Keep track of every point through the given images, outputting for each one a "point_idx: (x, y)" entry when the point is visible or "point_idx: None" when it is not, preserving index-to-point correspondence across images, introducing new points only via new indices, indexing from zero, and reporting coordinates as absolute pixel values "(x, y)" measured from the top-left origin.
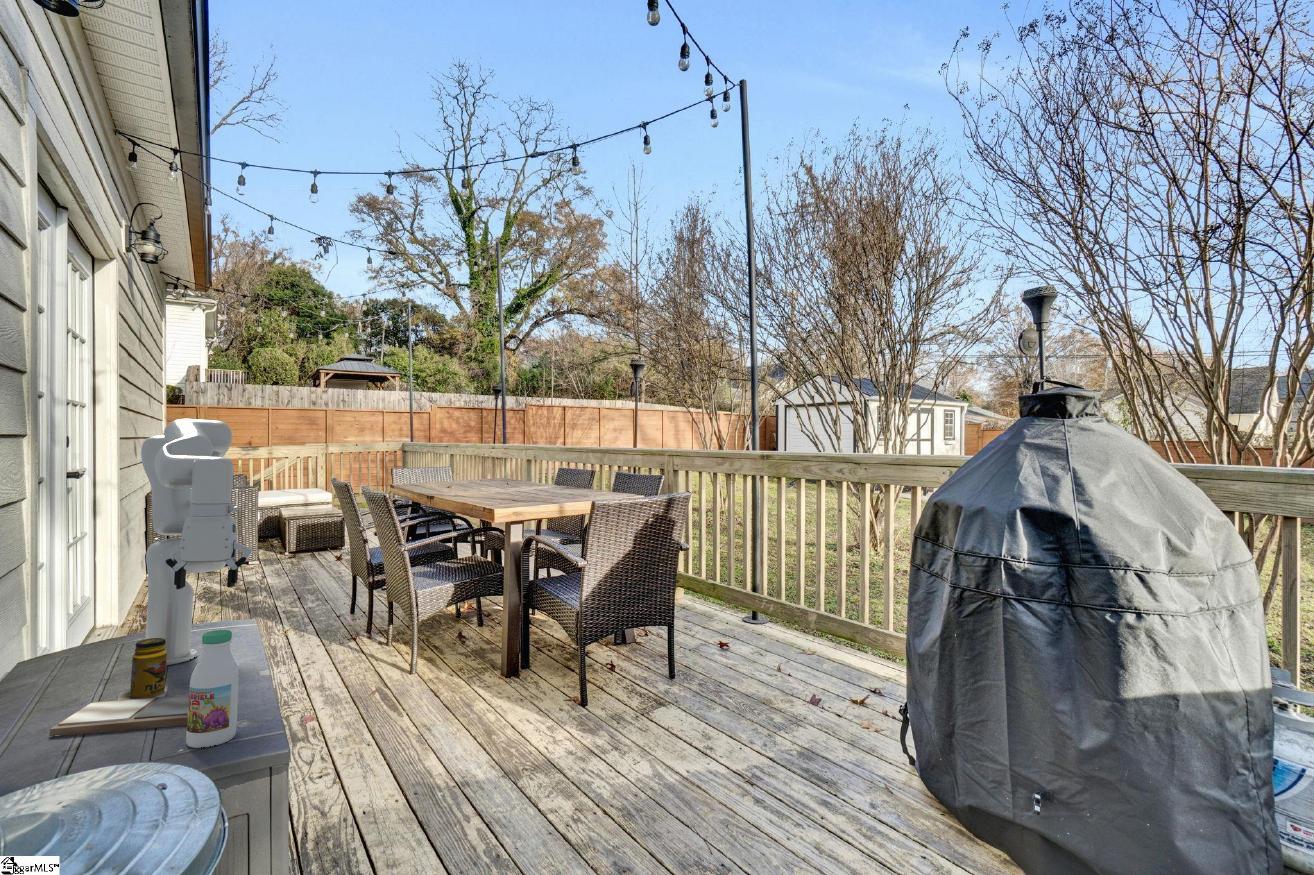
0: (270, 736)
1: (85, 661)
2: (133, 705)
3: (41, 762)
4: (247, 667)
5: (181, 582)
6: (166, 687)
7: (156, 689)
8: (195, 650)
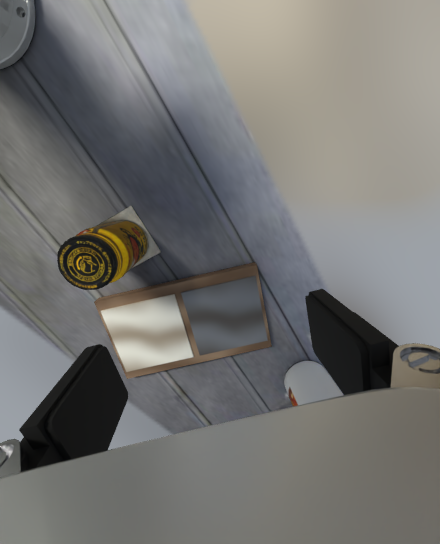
0: None
1: None
2: (167, 319)
3: (177, 417)
4: (202, 82)
5: (113, 408)
6: (133, 213)
7: (144, 253)
8: None
